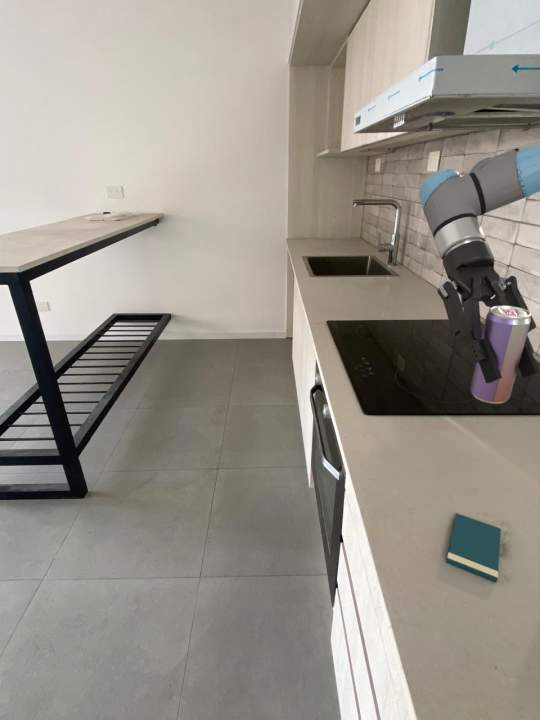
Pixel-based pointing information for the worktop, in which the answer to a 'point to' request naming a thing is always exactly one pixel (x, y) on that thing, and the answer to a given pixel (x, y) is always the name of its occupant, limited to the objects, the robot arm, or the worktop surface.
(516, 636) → the worktop surface
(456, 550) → the teal hardcover book
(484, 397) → the beverage can
